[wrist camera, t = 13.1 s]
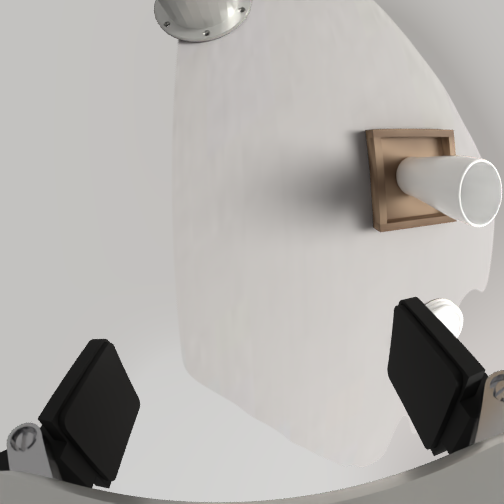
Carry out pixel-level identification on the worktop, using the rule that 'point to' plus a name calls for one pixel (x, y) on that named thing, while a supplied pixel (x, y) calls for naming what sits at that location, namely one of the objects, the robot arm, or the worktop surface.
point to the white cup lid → (447, 314)
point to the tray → (384, 175)
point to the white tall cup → (453, 186)
